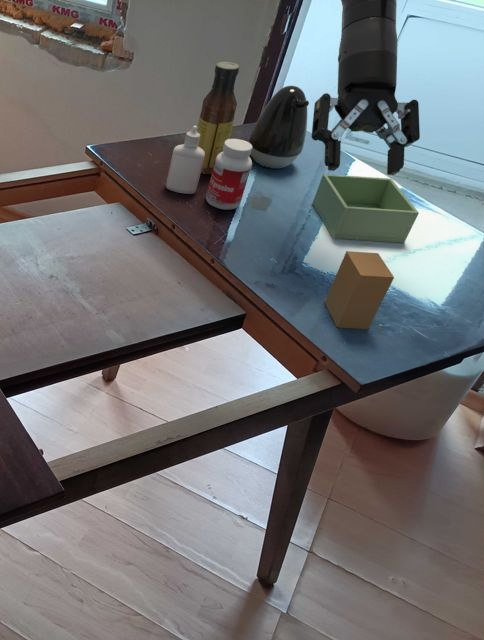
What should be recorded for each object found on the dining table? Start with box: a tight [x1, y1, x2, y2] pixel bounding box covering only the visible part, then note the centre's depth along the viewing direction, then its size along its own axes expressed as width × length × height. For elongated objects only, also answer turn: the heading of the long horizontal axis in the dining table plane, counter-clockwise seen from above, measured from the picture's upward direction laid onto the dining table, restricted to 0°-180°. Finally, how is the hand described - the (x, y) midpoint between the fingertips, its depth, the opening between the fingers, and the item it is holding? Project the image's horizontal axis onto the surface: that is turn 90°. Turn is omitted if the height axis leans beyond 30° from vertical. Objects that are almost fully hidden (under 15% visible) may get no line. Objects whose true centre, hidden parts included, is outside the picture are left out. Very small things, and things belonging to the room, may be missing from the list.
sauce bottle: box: [197, 61, 240, 174], centre depth 127 cm, size 7×6×20 cm
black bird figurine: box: [248, 85, 310, 169], centre depth 132 cm, size 10×10×15 cm
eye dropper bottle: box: [165, 125, 205, 195], centre depth 123 cm, size 4×6×12 cm
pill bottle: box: [205, 138, 253, 211], centre depth 120 cm, size 6×6×11 cm
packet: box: [324, 250, 395, 330], centre depth 96 cm, size 4×6×9 cm
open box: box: [312, 173, 420, 244], centre depth 119 cm, size 12×12×6 cm
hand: (363, 171), depth 97 cm, fingers open, 8 cm apart
